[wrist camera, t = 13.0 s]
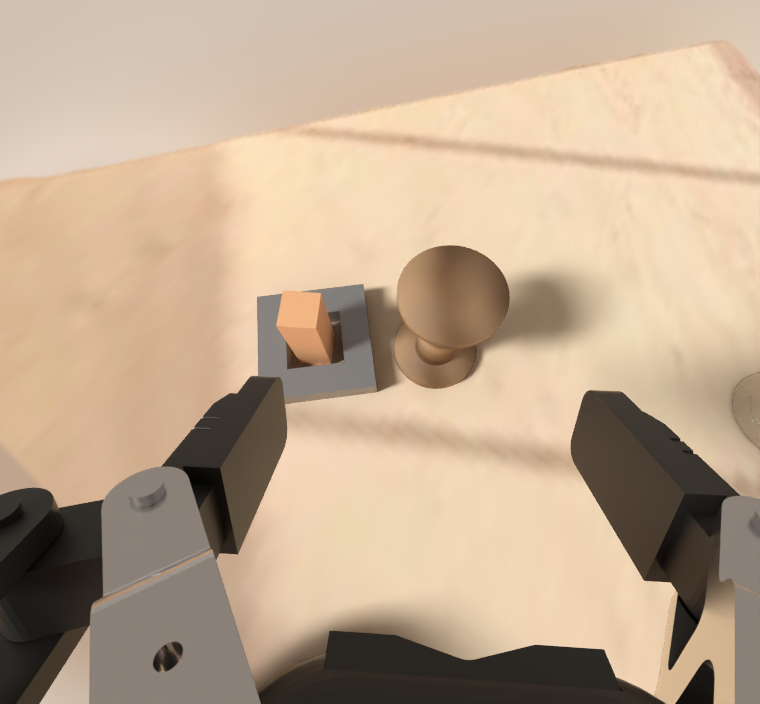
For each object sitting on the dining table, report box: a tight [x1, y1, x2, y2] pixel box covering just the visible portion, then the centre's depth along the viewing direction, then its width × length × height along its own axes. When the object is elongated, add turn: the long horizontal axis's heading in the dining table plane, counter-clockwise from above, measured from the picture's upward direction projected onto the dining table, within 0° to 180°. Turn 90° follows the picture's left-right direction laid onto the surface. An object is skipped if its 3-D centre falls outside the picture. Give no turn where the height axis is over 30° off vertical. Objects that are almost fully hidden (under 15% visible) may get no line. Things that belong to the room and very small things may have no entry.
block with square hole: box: [257, 284, 377, 404], centre depth 42 cm, size 12×12×2 cm
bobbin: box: [394, 245, 510, 389], centre depth 37 cm, size 9×9×13 cm
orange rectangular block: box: [276, 291, 335, 365], centre depth 39 cm, size 4×4×10 cm
